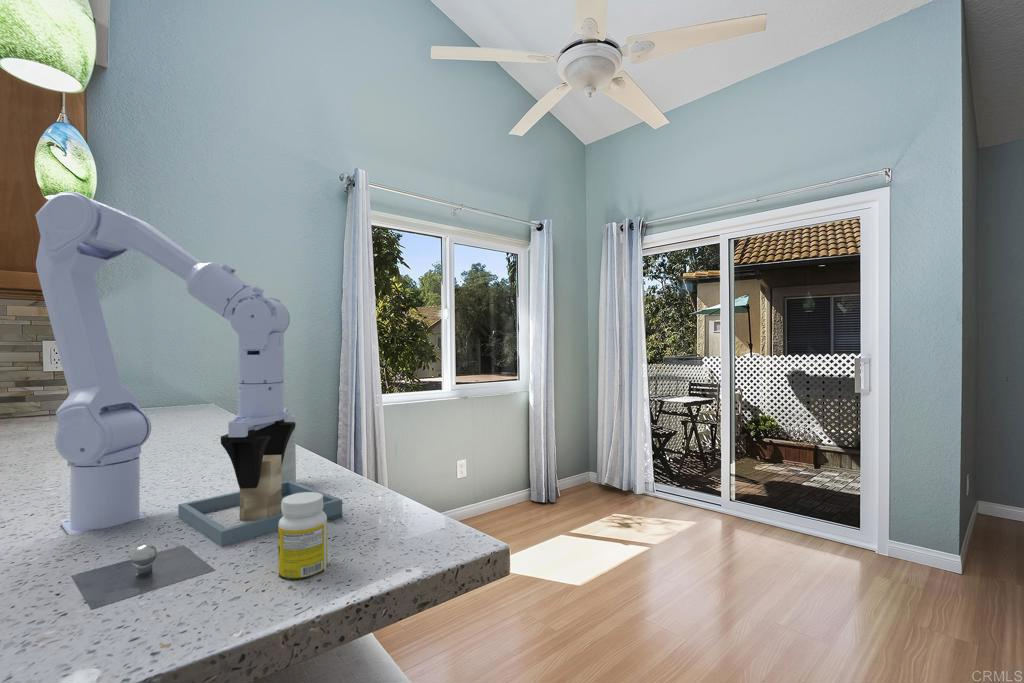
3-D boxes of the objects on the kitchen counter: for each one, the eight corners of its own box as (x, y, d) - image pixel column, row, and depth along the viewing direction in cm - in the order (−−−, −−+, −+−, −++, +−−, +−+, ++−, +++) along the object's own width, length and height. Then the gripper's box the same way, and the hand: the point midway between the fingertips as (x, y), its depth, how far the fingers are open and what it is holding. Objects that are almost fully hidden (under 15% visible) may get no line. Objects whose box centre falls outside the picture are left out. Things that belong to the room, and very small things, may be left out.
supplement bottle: (292, 566, 54) (292, 490, 54) (334, 567, 54) (334, 490, 54) (269, 588, 49) (269, 504, 49) (315, 589, 49) (315, 504, 49)
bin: (178, 522, 68) (178, 504, 68) (290, 495, 79) (290, 480, 79) (221, 553, 57) (221, 531, 57) (342, 517, 69) (342, 499, 69)
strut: (239, 521, 66) (239, 462, 66) (252, 511, 70) (252, 455, 70) (270, 520, 67) (270, 461, 67) (281, 510, 71) (281, 454, 71)
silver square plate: (71, 583, 50) (71, 547, 50) (183, 551, 58) (183, 520, 58) (91, 618, 44) (91, 576, 44) (215, 577, 51) (215, 542, 51)
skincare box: (274, 481, 88) (274, 414, 88) (296, 482, 87) (296, 415, 87) (252, 491, 82) (252, 419, 82) (275, 492, 81) (275, 420, 81)
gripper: (269, 386, 62) (269, 494, 62) (308, 378, 76) (307, 466, 76) (211, 387, 61) (210, 496, 61) (261, 379, 76) (260, 467, 75)
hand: (260, 479), depth 68 cm, fingers open, 7 cm apart
